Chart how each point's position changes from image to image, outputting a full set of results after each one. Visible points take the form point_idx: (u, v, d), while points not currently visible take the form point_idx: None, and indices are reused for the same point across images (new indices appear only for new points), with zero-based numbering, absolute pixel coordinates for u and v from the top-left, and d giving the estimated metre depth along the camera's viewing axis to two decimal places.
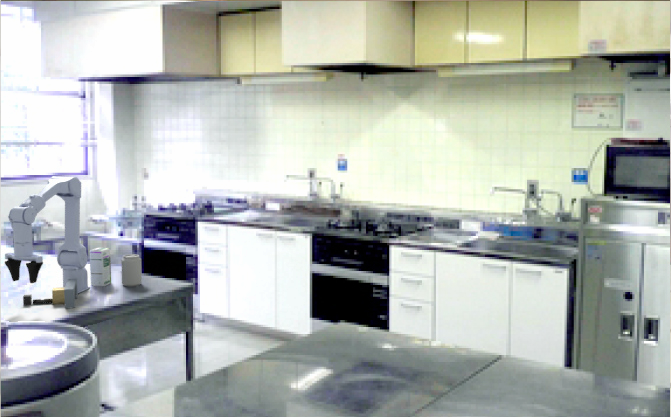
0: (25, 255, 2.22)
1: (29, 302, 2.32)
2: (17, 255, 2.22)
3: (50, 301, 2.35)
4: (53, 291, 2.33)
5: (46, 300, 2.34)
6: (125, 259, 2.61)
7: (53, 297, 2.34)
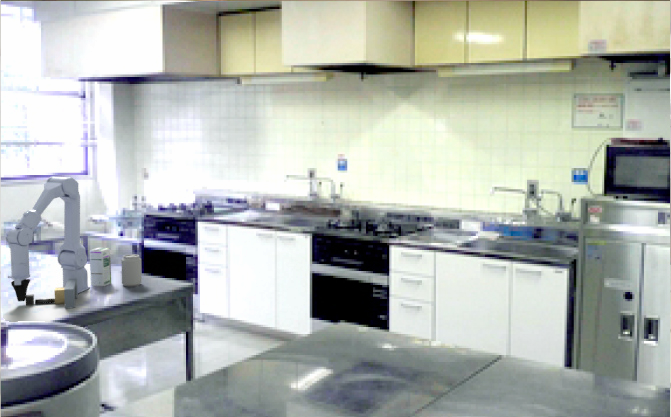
0: (14, 275, 2.29)
1: (31, 302, 2.33)
2: (11, 274, 2.30)
3: (52, 301, 2.35)
4: (55, 291, 2.34)
5: (48, 300, 2.35)
6: (125, 259, 2.61)
7: (55, 297, 2.34)
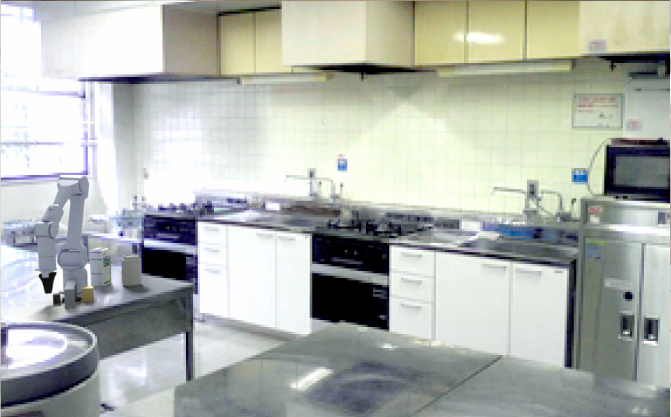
0: (41, 268, 2.31)
1: (58, 300, 2.35)
2: None
3: (79, 299, 2.38)
4: (82, 289, 2.37)
5: (75, 298, 2.38)
6: (125, 259, 2.61)
7: (82, 295, 2.37)
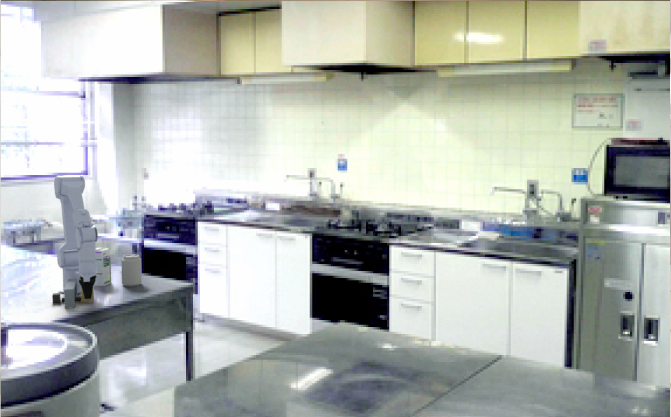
0: (82, 272, 2.35)
1: (58, 300, 2.35)
2: (79, 271, 2.37)
3: (79, 299, 2.38)
4: None
5: (75, 298, 2.37)
6: (125, 259, 2.61)
7: (82, 295, 2.37)
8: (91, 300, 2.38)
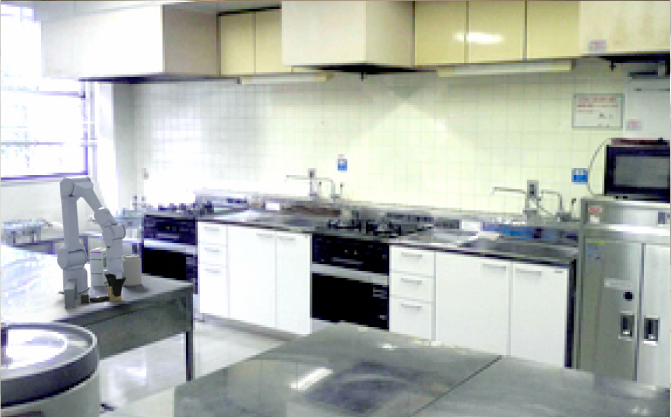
0: (111, 270, 2.38)
1: (87, 300, 2.36)
2: (106, 269, 2.39)
3: (107, 298, 2.40)
4: (111, 288, 2.39)
5: (103, 297, 2.39)
6: (125, 259, 2.61)
7: (110, 294, 2.39)
8: (119, 298, 2.41)
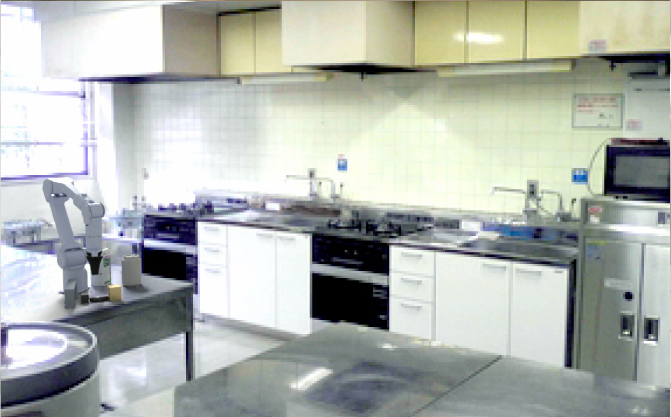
0: (89, 248, 2.39)
1: (87, 300, 2.36)
2: None
3: (107, 298, 2.40)
4: (111, 288, 2.39)
5: (103, 297, 2.39)
6: (125, 259, 2.61)
7: (110, 294, 2.39)
8: (119, 298, 2.41)
